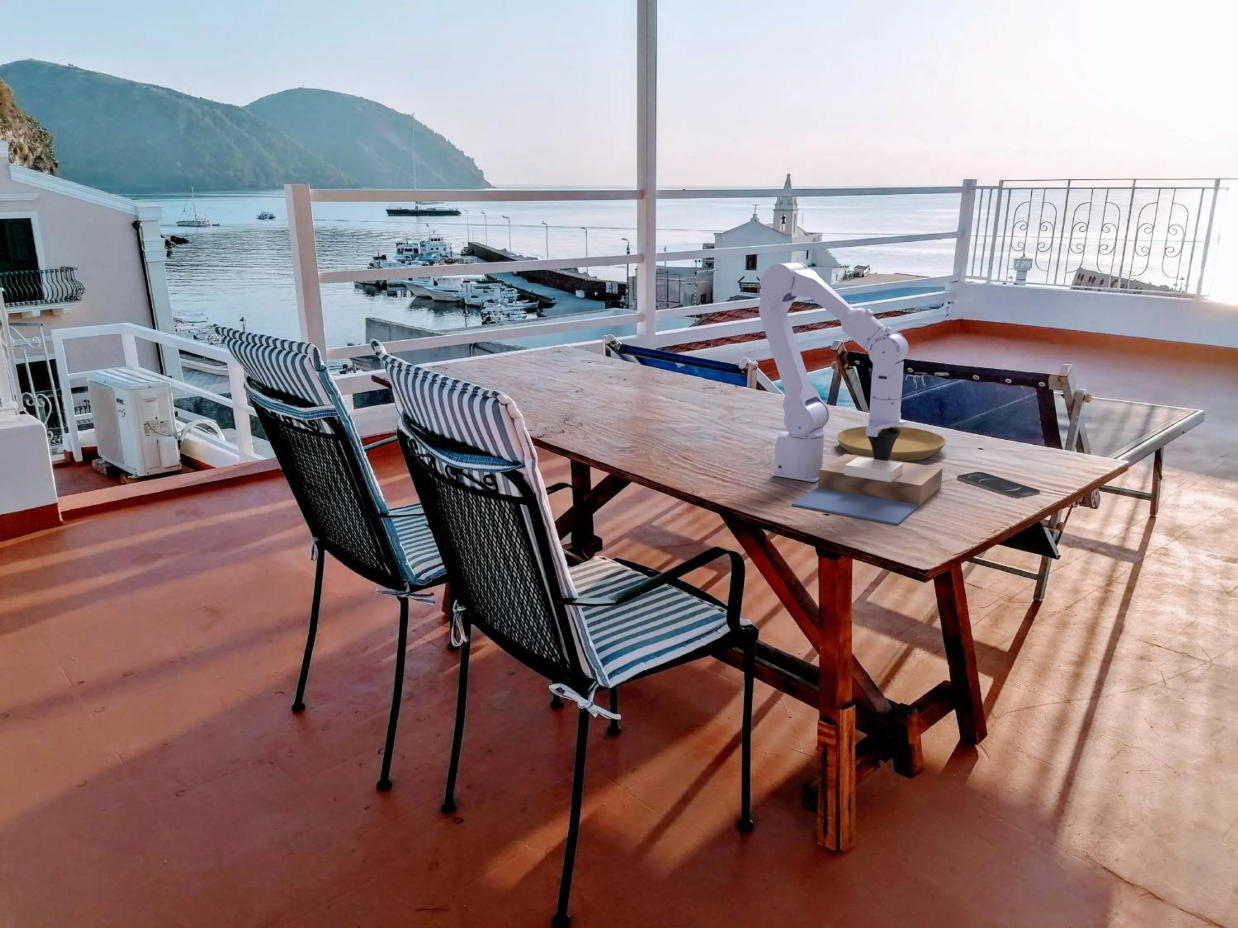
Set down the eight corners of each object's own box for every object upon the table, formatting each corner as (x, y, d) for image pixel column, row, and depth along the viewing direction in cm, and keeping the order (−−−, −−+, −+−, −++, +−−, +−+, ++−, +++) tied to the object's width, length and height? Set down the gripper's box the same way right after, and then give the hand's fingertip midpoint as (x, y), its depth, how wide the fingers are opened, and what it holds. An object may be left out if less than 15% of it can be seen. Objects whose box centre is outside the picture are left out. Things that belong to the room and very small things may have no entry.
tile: (844, 474, 162) (845, 464, 162) (857, 466, 168) (857, 456, 167) (890, 482, 157) (891, 471, 157) (902, 473, 163) (903, 463, 162)
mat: (791, 505, 158) (791, 503, 158) (817, 489, 167) (817, 487, 167) (897, 525, 146) (898, 523, 146) (918, 506, 156) (918, 504, 156)
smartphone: (1016, 496, 159) (954, 476, 172) (1015, 501, 160) (953, 480, 172) (1043, 491, 162) (980, 471, 175) (1042, 495, 163) (979, 475, 176)
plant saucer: (881, 470, 180) (882, 455, 179) (815, 445, 202) (816, 431, 201) (968, 457, 189) (969, 443, 188) (896, 434, 210) (897, 421, 209)
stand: (818, 488, 167) (818, 469, 166) (844, 471, 178) (845, 453, 177) (919, 505, 156) (921, 485, 155) (940, 487, 167) (942, 467, 166)
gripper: (894, 405, 154) (889, 476, 158) (918, 392, 166) (912, 459, 169) (857, 402, 158) (852, 470, 162) (882, 389, 170) (878, 454, 173)
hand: (881, 464), depth 166 cm, fingers closed
